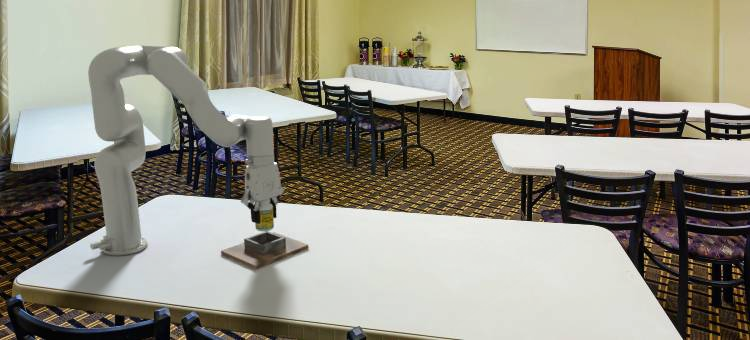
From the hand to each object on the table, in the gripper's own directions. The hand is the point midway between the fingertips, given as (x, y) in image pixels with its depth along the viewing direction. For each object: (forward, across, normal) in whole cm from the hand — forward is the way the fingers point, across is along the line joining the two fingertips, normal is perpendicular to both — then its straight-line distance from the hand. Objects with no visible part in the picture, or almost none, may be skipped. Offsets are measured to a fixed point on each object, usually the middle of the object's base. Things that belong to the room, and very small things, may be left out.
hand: (264, 219), depth 174 cm
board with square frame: (+10, 0, 0) cm, 10 cm away
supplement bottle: (+3, 0, 0) cm, 3 cm away
